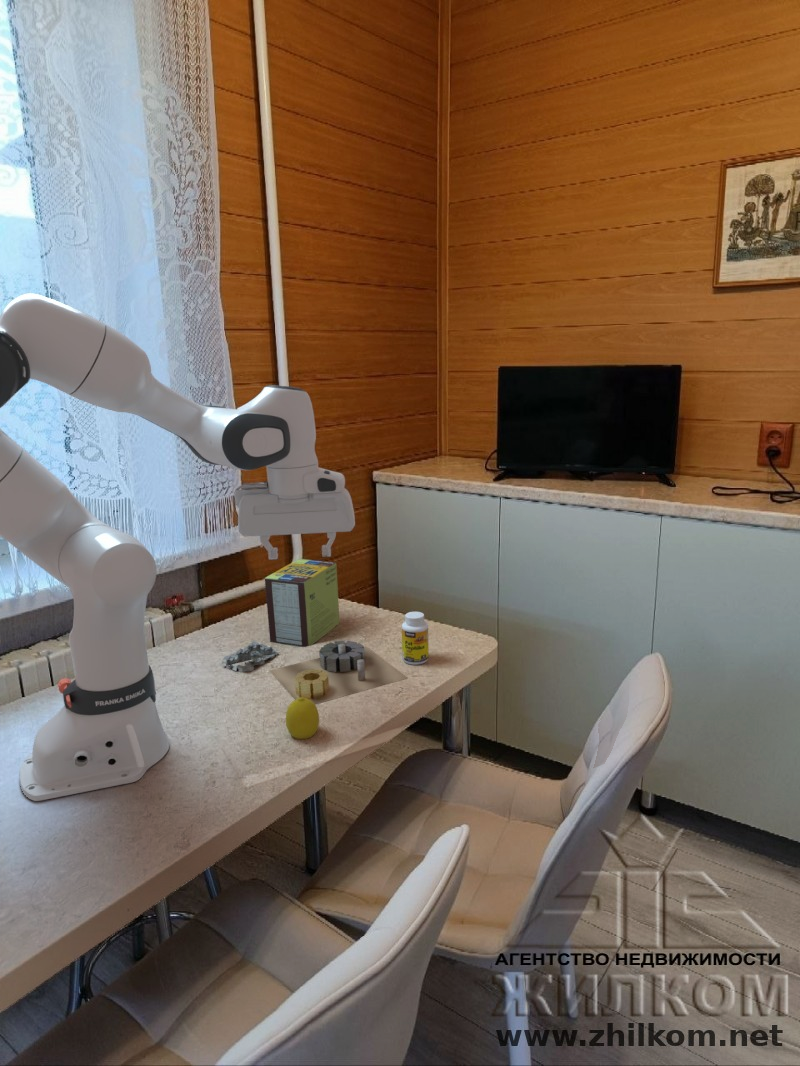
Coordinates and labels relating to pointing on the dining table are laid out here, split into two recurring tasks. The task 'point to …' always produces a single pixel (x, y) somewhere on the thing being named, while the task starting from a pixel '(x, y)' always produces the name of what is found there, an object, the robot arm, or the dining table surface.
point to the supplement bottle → (415, 639)
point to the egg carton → (251, 651)
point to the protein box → (302, 602)
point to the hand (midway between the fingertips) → (300, 557)
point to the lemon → (302, 718)
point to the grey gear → (341, 656)
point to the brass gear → (311, 684)
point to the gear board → (343, 676)
